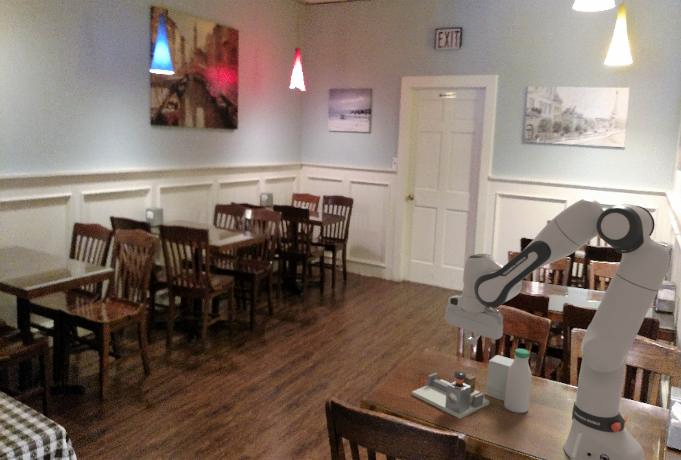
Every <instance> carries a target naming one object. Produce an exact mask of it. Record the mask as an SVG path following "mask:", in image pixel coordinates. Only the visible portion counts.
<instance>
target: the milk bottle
mask: <svg viewBox="0 0 681 460" xmlns="http://www.w3.org/2000/svg"><path fill="white" fill-rule="evenodd" d="M530 354H531V353H530V351H529V350H528V349H525V348H516V349H515V350H514V355H513V356H514V358H513V359H514V361H513V363H512V365H511V366H510V368H509V370H508V374H507V382H506V391H505V400H504V401H503V402H504V404H503V405H504V408H505V409H506V410H508V411H510V412H512V413H516V414H524V413H527V412H528V411H529V408H530V407H529V406H530V398H531V390H532V379H533V376H532V371H531V367H530V365H529V359H530Z"/></svg>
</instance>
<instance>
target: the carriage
mask: <svg viewBox="0 0 681 460" xmlns="http://www.w3.org/2000/svg"><path fill="white" fill-rule="evenodd" d="M465 374H466V378H465V379H464V381H463V383H465V384H467V385H469V386H471V394H470V405H472V403H473V398H474V396H475V395H478V394H480V393H481V392H480V391H478V390H476V388H475V387H476V375H472V374H470V373H465Z"/></svg>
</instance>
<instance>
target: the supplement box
mask: <svg viewBox="0 0 681 460" xmlns="http://www.w3.org/2000/svg"><path fill="white" fill-rule="evenodd" d="M514 359H515V358H509V357H506V356H502V355H498V354H496V355H494V356H493V357H491V358H490V359H489V360H488V364H487V365H488V366H487V367H488V368H487V376H486V387H485V395H486V396H488V397H492V398H495V399H497V400H501V401H503V402H504V400H505V391H506V382H507V374H508V370H509V368H510V366H511V365H512V363H513V361H514Z"/></svg>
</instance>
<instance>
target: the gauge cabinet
mask: <svg viewBox="0 0 681 460" xmlns="http://www.w3.org/2000/svg"><path fill="white" fill-rule="evenodd" d="M449 383H450V384H448V385H447V393H446V405H445V407H446V408H448V409H450V410H452V411H454V412H456V413H458V414H460V413H462V412H464V411H466V410H468V409H469V405H470V394H471V386H469V385H467V384H465V383H463V388H461V389H459V388H457V387H455V384H456V380H455V381H453V382H449Z"/></svg>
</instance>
